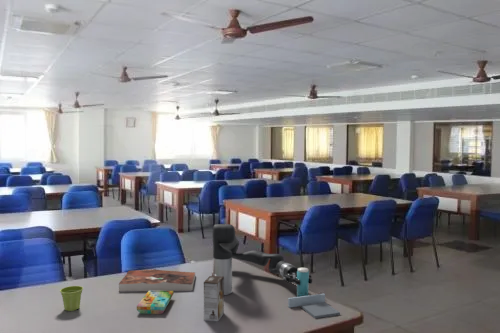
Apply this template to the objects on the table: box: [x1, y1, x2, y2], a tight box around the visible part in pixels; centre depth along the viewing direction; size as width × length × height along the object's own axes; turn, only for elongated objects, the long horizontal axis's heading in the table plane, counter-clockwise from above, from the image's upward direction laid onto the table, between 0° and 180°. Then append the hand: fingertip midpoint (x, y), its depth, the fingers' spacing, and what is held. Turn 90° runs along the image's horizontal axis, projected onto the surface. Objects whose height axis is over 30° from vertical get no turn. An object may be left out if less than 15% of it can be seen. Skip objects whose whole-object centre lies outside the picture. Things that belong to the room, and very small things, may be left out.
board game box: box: [118, 268, 196, 292], centre depth 227 cm, size 36×23×5 cm, turn 93°
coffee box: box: [203, 275, 225, 322], centre depth 183 cm, size 9×6×16 cm
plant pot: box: [59, 285, 84, 312], centre depth 191 cm, size 9×9×9 cm
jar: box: [296, 267, 310, 297], centre depth 206 cm, size 6×6×13 cm
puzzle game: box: [136, 291, 174, 315], centre depth 195 cm, size 12×5×20 cm
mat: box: [300, 301, 341, 319], centre depth 190 cm, size 12×13×1 cm
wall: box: [287, 293, 326, 309], centre depth 198 cm, size 18×1×4 cm, turn 110°
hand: (305, 282), depth 204 cm, fingers closed on jar, 5 cm apart
